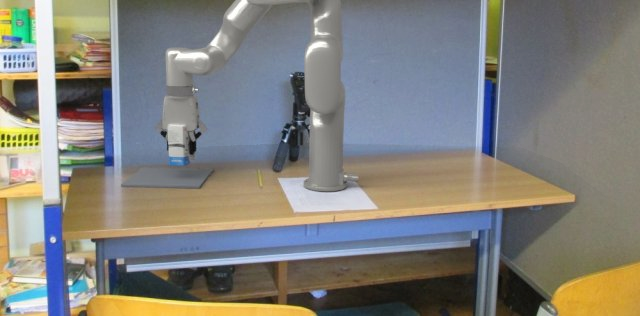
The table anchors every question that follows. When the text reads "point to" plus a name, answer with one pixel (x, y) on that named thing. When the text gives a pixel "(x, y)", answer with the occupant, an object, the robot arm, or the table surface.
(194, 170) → the slate mat
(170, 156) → the ink box
